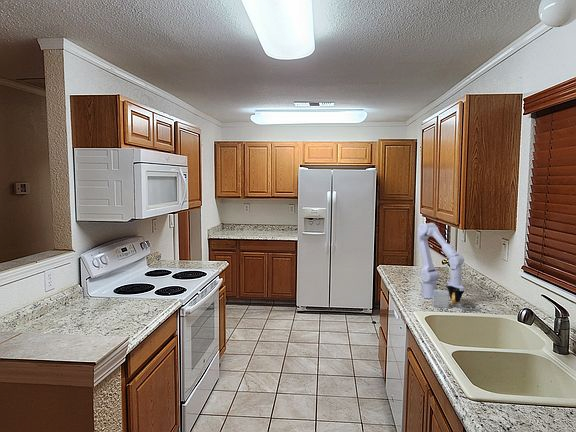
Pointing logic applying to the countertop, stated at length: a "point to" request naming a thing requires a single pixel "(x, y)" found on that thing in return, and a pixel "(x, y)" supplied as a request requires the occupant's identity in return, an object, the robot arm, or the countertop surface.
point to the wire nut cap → (454, 299)
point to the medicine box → (440, 298)
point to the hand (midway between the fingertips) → (454, 300)
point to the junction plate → (468, 307)
